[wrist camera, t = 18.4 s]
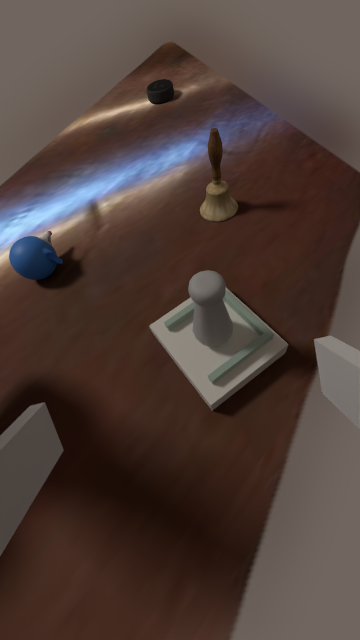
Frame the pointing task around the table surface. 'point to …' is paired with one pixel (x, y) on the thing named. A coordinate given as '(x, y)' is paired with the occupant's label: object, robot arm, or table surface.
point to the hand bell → (217, 186)
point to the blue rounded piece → (34, 257)
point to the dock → (219, 349)
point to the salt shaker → (210, 309)
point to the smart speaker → (160, 91)
